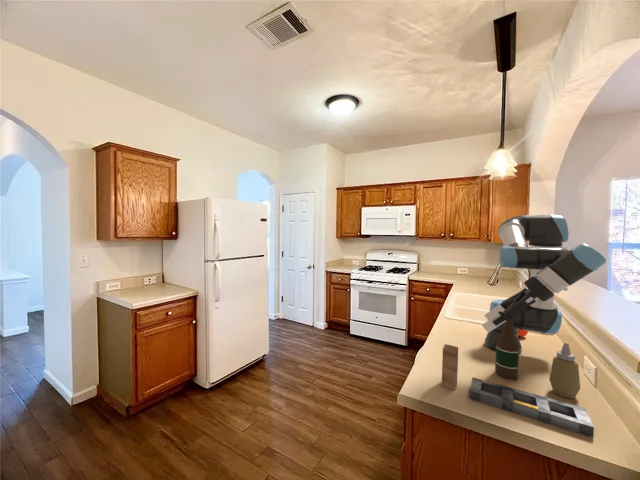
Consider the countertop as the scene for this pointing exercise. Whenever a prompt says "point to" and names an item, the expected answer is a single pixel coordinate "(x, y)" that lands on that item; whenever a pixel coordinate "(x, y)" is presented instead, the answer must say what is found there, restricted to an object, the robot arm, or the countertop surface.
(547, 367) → the countertop surface
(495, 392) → the metal rail
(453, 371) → the walnut peg
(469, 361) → the countertop surface
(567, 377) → the squeeze bottle
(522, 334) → the clementine
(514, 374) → the beer bottle
